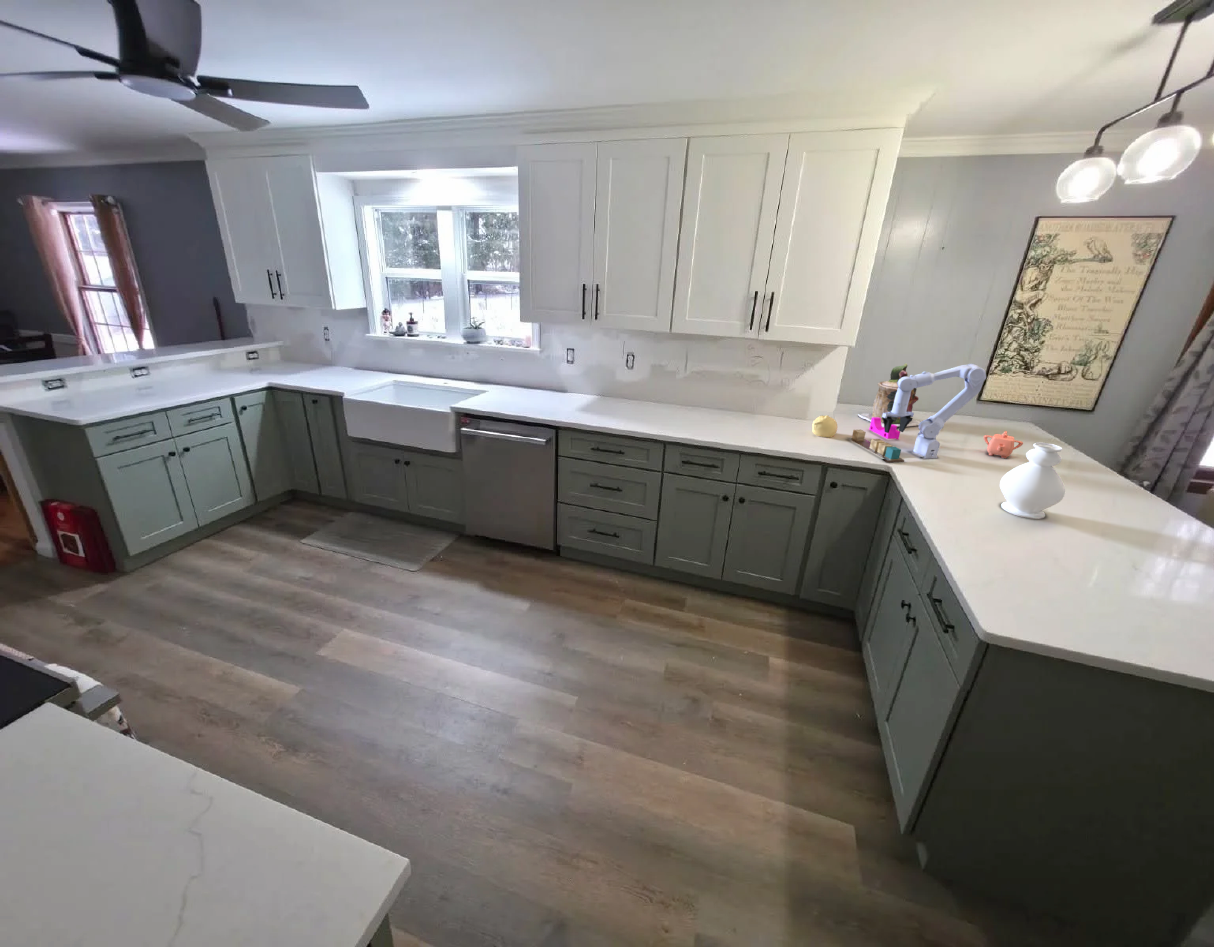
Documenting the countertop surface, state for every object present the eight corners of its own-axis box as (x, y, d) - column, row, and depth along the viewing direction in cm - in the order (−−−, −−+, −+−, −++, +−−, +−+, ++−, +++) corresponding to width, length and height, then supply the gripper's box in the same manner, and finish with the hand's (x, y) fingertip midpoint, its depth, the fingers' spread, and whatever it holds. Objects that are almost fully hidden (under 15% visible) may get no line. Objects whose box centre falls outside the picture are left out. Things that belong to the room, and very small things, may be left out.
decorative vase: (1044, 527, 168) (1073, 459, 158) (984, 507, 181) (1007, 443, 171) (1061, 513, 177) (1089, 448, 167) (1002, 495, 191) (1025, 434, 181)
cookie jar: (855, 416, 285) (867, 360, 273) (889, 413, 292) (902, 358, 279) (889, 429, 264) (904, 369, 251) (925, 426, 271) (941, 367, 258)
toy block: (898, 440, 249) (901, 425, 246) (886, 440, 248) (890, 426, 245) (879, 430, 262) (883, 417, 259) (868, 430, 262) (871, 417, 259)
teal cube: (898, 459, 222) (901, 449, 220) (890, 459, 221) (893, 450, 219) (892, 455, 225) (895, 446, 224) (884, 456, 225) (887, 446, 223)
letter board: (903, 461, 222) (907, 450, 219) (887, 462, 220) (890, 451, 218) (860, 438, 250) (863, 428, 247) (846, 439, 248) (848, 429, 246)
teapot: (1022, 460, 225) (1030, 439, 221) (996, 460, 225) (1003, 439, 221) (999, 449, 238) (1006, 429, 234) (974, 449, 238) (981, 429, 234)
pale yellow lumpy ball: (812, 431, 260) (816, 411, 256) (836, 435, 255) (841, 414, 250) (808, 437, 251) (812, 416, 247) (833, 441, 246) (837, 420, 241)
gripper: (908, 400, 230) (901, 428, 236) (880, 401, 228) (874, 429, 233) (919, 404, 224) (912, 433, 229) (891, 405, 221) (884, 434, 227)
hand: (893, 431), depth 231 cm, fingers open, 7 cm apart
